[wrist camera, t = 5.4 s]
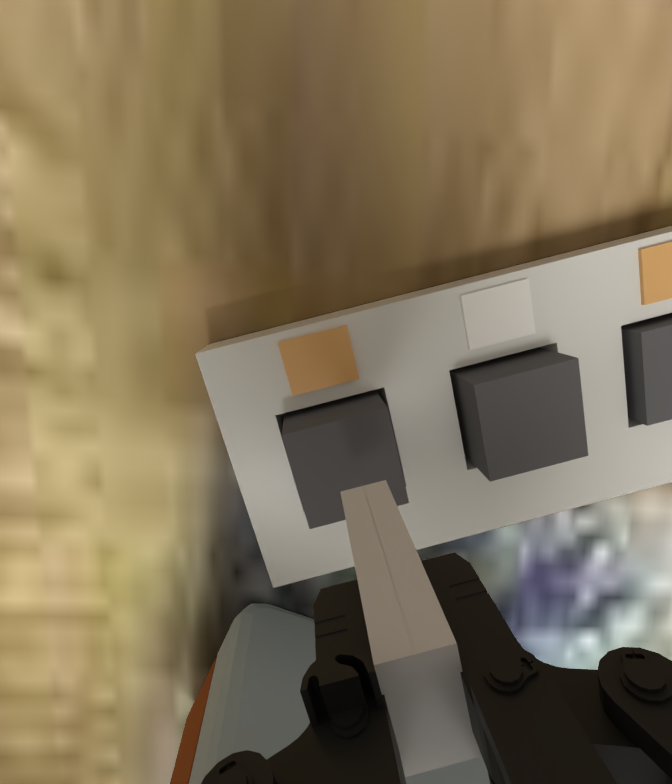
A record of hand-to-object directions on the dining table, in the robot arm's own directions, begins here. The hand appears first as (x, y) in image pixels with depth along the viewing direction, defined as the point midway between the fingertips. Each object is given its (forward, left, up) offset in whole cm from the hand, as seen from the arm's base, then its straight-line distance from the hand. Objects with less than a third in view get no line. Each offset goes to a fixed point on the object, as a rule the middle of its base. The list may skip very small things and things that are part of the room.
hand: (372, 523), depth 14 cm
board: (+8, 0, -9) cm, 12 cm away
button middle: (+8, 0, -7) cm, 11 cm away
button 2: (0, 0, -7) cm, 7 cm away
